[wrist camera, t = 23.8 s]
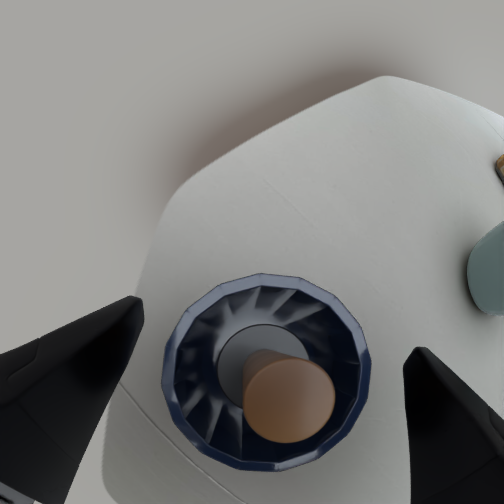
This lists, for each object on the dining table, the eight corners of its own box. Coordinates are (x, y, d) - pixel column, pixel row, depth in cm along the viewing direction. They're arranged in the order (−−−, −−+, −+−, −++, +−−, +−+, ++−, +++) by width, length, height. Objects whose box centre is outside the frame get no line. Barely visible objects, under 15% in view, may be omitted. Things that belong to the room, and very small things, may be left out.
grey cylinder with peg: (308, 372, 15) (410, 410, 5) (247, 410, 14) (255, 511, 4) (271, 314, 16) (320, 264, 6) (209, 351, 16) (147, 366, 5)
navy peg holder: (282, 438, 14) (308, 493, 7) (174, 384, 15) (128, 409, 8) (338, 336, 17) (399, 328, 10) (233, 281, 18) (228, 238, 10)
